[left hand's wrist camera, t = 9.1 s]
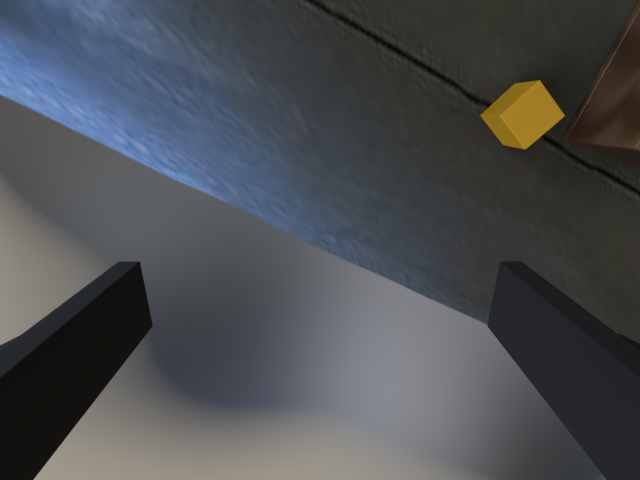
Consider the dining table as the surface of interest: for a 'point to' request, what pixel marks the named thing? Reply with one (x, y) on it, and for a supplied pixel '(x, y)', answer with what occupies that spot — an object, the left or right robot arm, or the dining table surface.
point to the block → (522, 114)
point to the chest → (613, 102)
